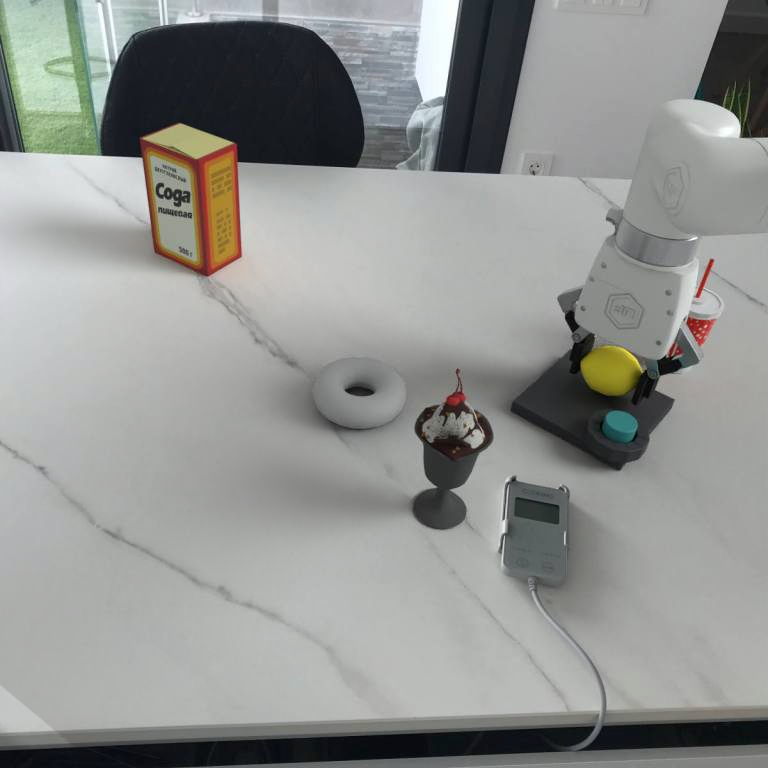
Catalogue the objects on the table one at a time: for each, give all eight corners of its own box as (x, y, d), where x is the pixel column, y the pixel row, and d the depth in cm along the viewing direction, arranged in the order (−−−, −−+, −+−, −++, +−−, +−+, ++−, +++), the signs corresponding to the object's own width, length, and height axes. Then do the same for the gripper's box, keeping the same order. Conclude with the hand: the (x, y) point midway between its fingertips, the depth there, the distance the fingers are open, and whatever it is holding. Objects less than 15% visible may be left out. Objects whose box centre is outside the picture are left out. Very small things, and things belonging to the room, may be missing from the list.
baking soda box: (154, 252, 103) (139, 134, 93) (189, 233, 107) (178, 119, 97) (208, 276, 99) (198, 157, 89) (241, 256, 104) (236, 140, 93)
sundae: (440, 471, 76) (462, 349, 66) (489, 514, 72) (520, 391, 62) (389, 501, 72) (404, 377, 63) (437, 548, 68) (461, 423, 59)
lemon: (569, 394, 84) (581, 355, 81) (579, 367, 88) (590, 328, 85) (634, 414, 82) (649, 375, 79) (640, 385, 86) (655, 347, 83)
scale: (680, 413, 85) (689, 392, 83) (624, 481, 76) (633, 460, 75) (567, 358, 92) (573, 337, 90) (504, 415, 83) (510, 394, 81)
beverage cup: (704, 359, 94) (747, 258, 85) (689, 384, 89) (733, 281, 81) (655, 339, 96) (692, 239, 87) (638, 363, 92) (675, 260, 83)
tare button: (638, 432, 78) (643, 420, 77) (625, 448, 76) (629, 436, 75) (610, 417, 80) (614, 406, 79) (596, 432, 78) (600, 421, 77)
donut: (381, 449, 78) (420, 391, 85) (383, 424, 75) (423, 367, 82) (294, 416, 80) (338, 363, 87) (294, 391, 78) (339, 338, 85)
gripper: (557, 218, 75) (522, 364, 86) (732, 289, 67) (669, 438, 78) (593, 195, 80) (555, 335, 91) (760, 258, 72) (696, 403, 83)
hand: (608, 382), depth 84 cm, fingers closed on lemon, 6 cm apart
